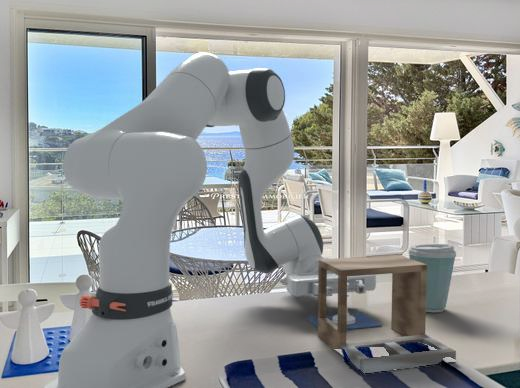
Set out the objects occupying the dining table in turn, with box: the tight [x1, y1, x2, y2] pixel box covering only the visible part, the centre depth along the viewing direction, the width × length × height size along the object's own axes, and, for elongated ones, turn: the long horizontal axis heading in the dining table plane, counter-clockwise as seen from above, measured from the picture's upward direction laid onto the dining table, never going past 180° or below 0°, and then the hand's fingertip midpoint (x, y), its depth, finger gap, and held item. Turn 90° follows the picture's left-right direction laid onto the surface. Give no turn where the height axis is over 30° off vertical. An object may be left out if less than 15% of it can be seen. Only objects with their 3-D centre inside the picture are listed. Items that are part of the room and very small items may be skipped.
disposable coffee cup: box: [407, 243, 457, 313], centre depth 124 cm, size 11×11×15 cm
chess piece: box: [332, 278, 356, 325], centre depth 114 cm, size 5×5×10 cm
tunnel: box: [317, 254, 457, 375], centre depth 99 cm, size 19×17×15 cm
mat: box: [307, 312, 383, 331], centre depth 114 cm, size 9×13×1 cm
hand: (346, 291), depth 113 cm, fingers open, 6 cm apart
